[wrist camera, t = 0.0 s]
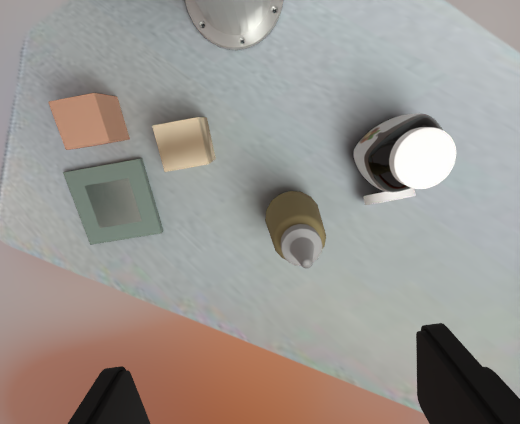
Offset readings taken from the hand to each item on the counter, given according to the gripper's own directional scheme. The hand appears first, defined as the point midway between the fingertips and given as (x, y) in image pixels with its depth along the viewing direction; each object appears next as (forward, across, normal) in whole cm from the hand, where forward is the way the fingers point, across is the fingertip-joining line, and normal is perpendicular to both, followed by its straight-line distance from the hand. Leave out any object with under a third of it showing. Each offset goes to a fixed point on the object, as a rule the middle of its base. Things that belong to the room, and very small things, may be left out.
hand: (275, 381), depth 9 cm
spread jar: (+37, -18, +1) cm, 41 cm away
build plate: (+37, +24, 0) cm, 44 cm away
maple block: (+37, +10, -7) cm, 39 cm away
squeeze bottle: (+37, -3, +6) cm, 38 cm away
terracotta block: (+37, +22, -12) cm, 45 cm away
